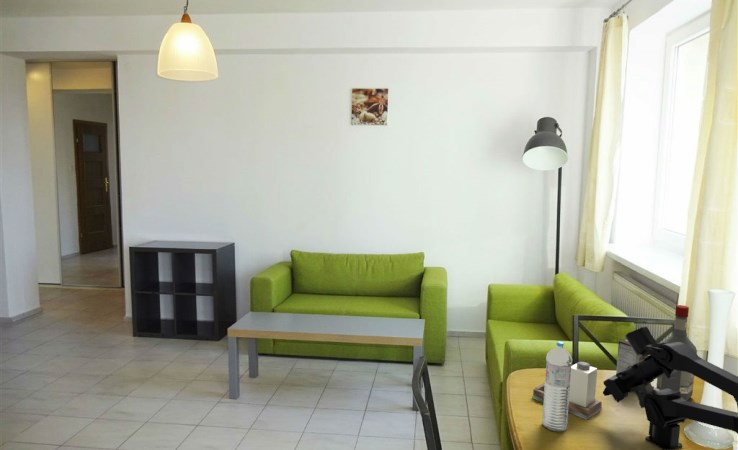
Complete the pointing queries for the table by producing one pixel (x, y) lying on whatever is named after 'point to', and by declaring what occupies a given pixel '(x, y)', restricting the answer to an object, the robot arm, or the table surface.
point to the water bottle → (557, 389)
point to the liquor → (682, 379)
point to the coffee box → (626, 356)
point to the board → (571, 404)
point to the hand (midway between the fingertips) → (604, 394)
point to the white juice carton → (583, 384)
